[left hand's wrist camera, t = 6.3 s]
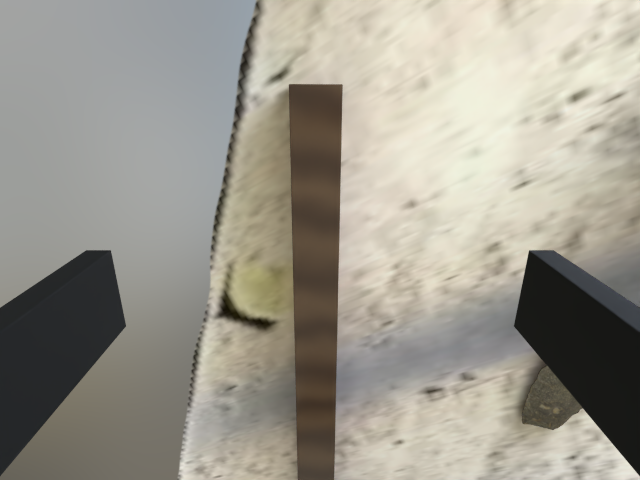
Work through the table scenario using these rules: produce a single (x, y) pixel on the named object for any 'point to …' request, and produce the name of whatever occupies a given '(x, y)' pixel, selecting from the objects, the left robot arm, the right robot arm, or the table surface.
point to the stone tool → (549, 402)
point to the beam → (315, 269)
